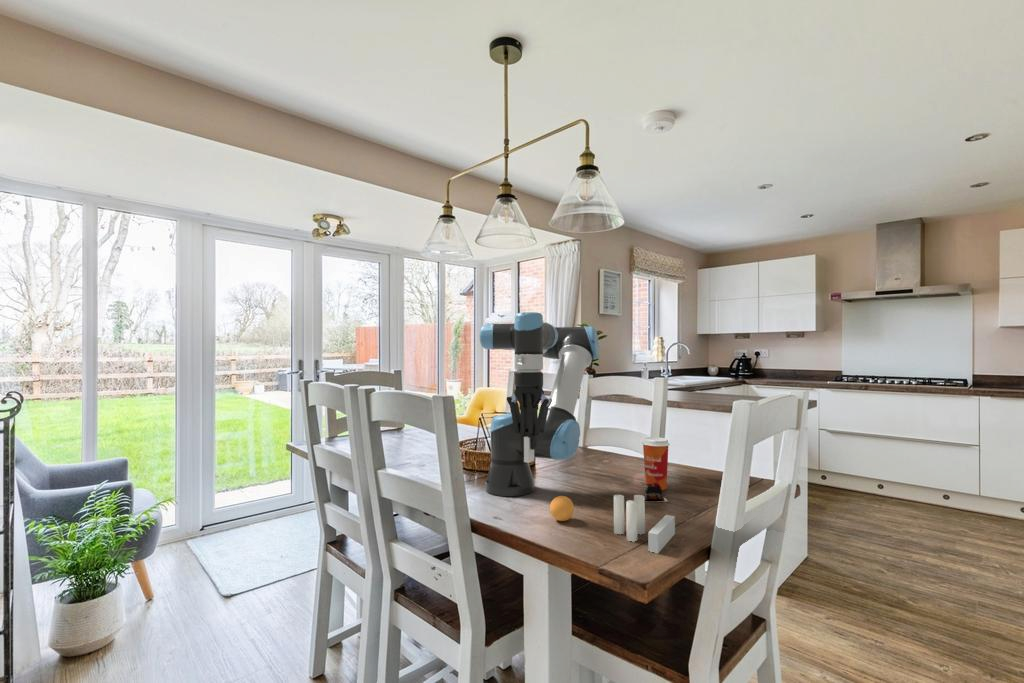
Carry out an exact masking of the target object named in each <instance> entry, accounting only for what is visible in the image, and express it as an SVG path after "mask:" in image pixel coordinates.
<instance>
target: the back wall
mask: <svg viewBox="0 0 1024 683" xmlns="http://www.w3.org/2000/svg"><path fill="white" fill-rule="evenodd" d="M675 535H676V517H675V515H670V514H669V515H668V514H665V515H664V516H663V517H662V518H661V519H660V520H659V521H658V522H657V523H656V524H655V525H654V526H653V527H652V528H651V529H650V530H649V531H648V533H647V539H648V540H647V541H648V543H647V546H648V548H647V549H648V551H650V552H649V553H652V552H654V553H653V554H657V555H658V554H659V553H660V552H661V551H662V550H663V548H664V547H665V546H666V545H667V544H668V543H669V541H670V540H671V539H672V538H673V537H674V536H675Z"/></svg>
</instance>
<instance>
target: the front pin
mask: <svg viewBox="0 0 1024 683" xmlns="http://www.w3.org/2000/svg"><path fill="white" fill-rule="evenodd" d="M613 534H614V535H617V534H620V535H619V536H622V535H621V534H623V535H625V496H624V495H623V494H613Z"/></svg>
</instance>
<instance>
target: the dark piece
mask: <svg viewBox="0 0 1024 683" xmlns="http://www.w3.org/2000/svg"><path fill="white" fill-rule="evenodd" d="M643 491H644V495H643V496H644V497H645V501H665V500H664V498H663V497H664V496H662V495H663V492H662V491H663V490H661V487H660V486H659V484H653V486H652V485H651V484H646V483H645V487H644V489H643ZM650 494H656V495H650Z"/></svg>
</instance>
